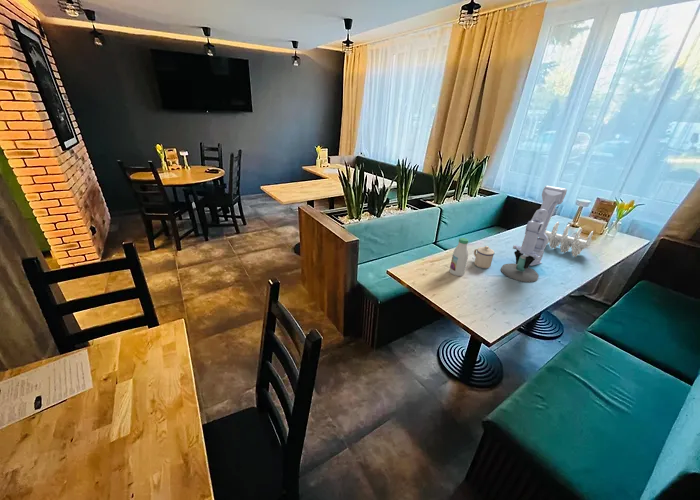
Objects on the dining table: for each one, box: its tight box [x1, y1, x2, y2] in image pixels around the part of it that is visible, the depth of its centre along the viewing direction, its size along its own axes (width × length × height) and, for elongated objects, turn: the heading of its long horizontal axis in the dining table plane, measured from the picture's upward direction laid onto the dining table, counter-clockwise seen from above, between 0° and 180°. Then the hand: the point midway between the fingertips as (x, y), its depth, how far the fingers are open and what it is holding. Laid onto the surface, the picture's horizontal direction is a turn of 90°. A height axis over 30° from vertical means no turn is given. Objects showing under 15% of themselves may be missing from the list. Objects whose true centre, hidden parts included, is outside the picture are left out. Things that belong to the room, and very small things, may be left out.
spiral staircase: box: [538, 221, 594, 258], centre depth 181 cm, size 18×18×25 cm
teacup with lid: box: [473, 245, 495, 269], centre depth 165 cm, size 12×9×12 cm
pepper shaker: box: [516, 254, 528, 271], centre depth 156 cm, size 4×4×8 cm
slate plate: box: [500, 263, 539, 283], centre depth 159 cm, size 18×18×1 cm
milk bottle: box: [448, 237, 469, 277], centre depth 154 cm, size 8×8×20 cm
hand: (521, 265), depth 157 cm, fingers closed on pepper shaker, 4 cm apart
